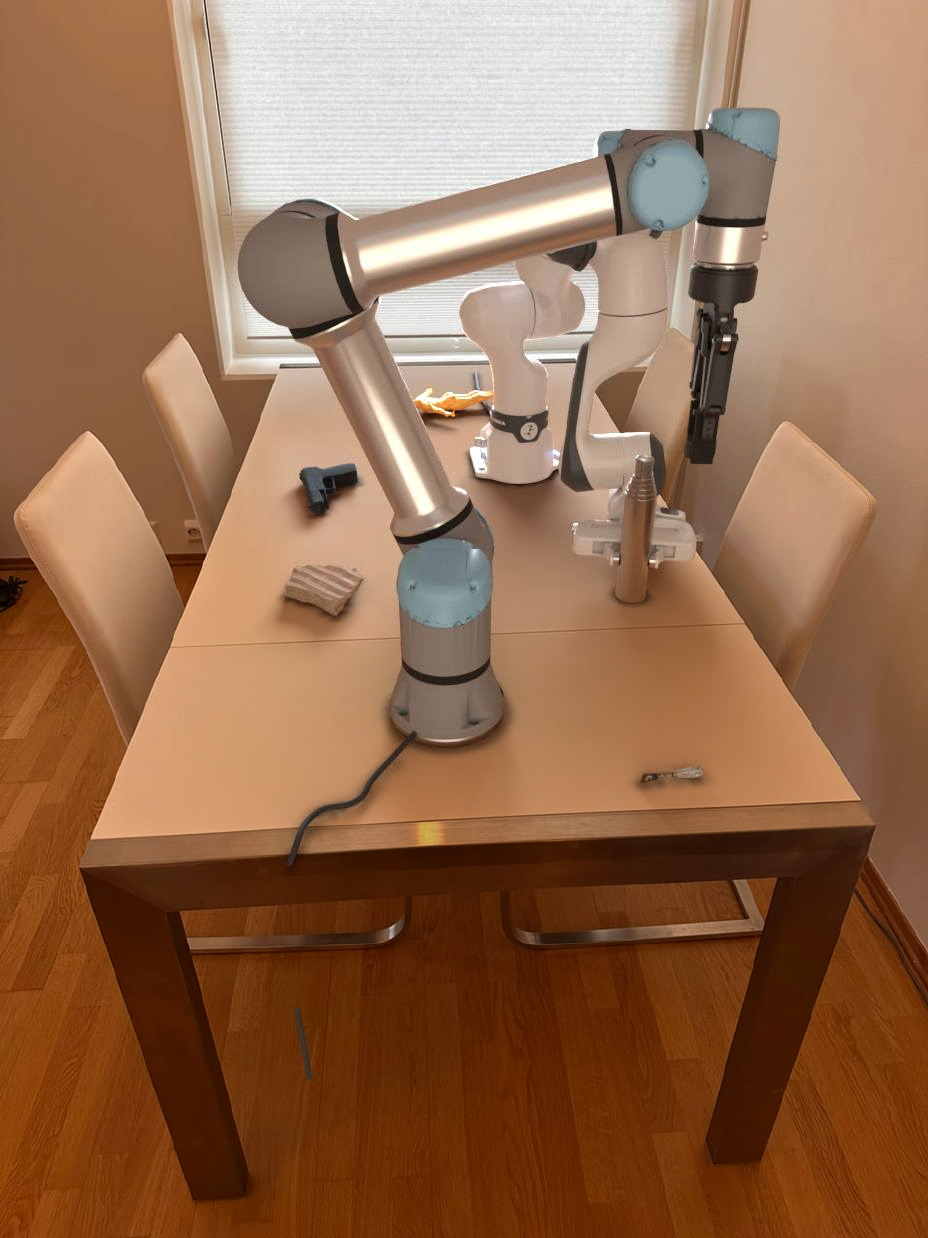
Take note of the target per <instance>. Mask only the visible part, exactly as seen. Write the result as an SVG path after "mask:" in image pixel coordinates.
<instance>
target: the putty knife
mask: <svg viewBox="0 0 928 1238" xmlns="http://www.w3.org/2000/svg"><path fill="white" fill-rule="evenodd" d="M704 772H705V771H704V768H702V767H701V766H697V765H695V766H688V767H683V768H679V769H675V770H673V771H671V772H653V773H652V772H651V773H650V772H649V773H644V774H642V776H641V779H640V783H642V784H645V783H648V782H653V781H659V780H665V779H668V778H673V779H674V778H675V779H693V778H694V779H695V778H700V777H702V776H703V775H704Z"/></svg>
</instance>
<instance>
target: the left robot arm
mask: <svg viewBox="0 0 928 1238" xmlns="http://www.w3.org/2000/svg"><path fill="white" fill-rule="evenodd" d="M780 127H781V117H780V115H779V114H778V112H777V110H775V109H773V108H769V107H717V108H715V109H713V110H712V111H711V112H710V114H709V116H708V122H707V123H706V124H705V128H699V129H692V130H684V129H683V130H681V129H680V130H679V129H677V130H676V129H670V130H669V129H631V128H624V129H620V130H605V131H602V132H601V133H599V134H598V136H597V137H596V139H595V143H594V148H593V157H589V158H585V159H581V160H578V161H574V162H570V163H566V164H562V165H559V166H556V167H551V168H547V169H544V170H539V171H536V172H533V173H529V174H524V175H521V176H517V177H513V178H510V179H505V180H502V181H498V182H493V183H491V184H486V185H483V186H479V187H475V188H471V189H468V190H464V191H459V192H456V193H453V194H448V195H445V196H440V197H437V198H434V199H430V200H426V201H425V200H424V201H422V202H418V203H415V204H409V205H406V206H403V207H398V208H395V209H392V210H387V211H383V212H381V213H377V214H373V215H369V216H365V217H361V218H356V217H354V216H352V215H351V214H349V213H347V212H346V211H345V210H343V209H342V208H341V207H339V206H337V205H335V204H334V203H332V202H329V201H327V200H324V199H318V198H301V199H299V198H298V199H295V200H294V201H291V202H286V203H284V204H283V205H281V206H280V207H278V208H276V209H274V211H272V212H271V213H270V214H269V215H268V216H266V217H264V218H263V219H260V221H258V222H257V223H256V224H255V225H254V226H252V227H251V229H250V230H249V231H248V233H247V234H246V235H245V237H244V239H243V241H242V243H241V245H240V248H239V251H238V257H237V258H238V259H237V275H238V281H239V285H240V287H241V291H242V292H243V294H244V296H245V298H246V300H247V302H248V303H249V304H250V305H251V307H252V309H254V310H255V312H257V313H258V315H260V316H262V317H263V318H264V319H266V320H267V321H268V322H271V323H273V324H275V325H277V326H281V327H285V328H287V329H288V331H289V333H290V335H291V336H292V337H291V338H292V339H293V341H295V342H296V343H298V344H302V345H304V346H306V347H309V348H311V349H312V350H313V352H314V355H315V357H316V359H317V360H318V363H319V365H320V366H321V369H322V370H323V372H324V375H325V376H326V379H327V381H328V383H329V384H330V386H331V388H332V390H333V392H334V395H335V397H336V399H337V401H338V403H339V404H340V405H339V406H341V409H342V410H343V412H344V414H345V417H346V419H347V420H348V422H349V425H350V427H351V428H352V431H353V432H354V434H355V437H356V439H357V441H358V442H359V445H360V447H361V449H362V451H363V452H364V455H365V457H366V459H367V461H368V463H369V466H370V467H371V469H372V471H373V473H374V475H375V477H376V479H377V481H378V483H379V485H380V486H381V489H382V491H383V493H384V495H385V497H386V499H387V501H388V503H389V505H390V507H391V509H392V511H393V513H394V514H393V516H392V518H391V522H390V524H389V530H390V532H391V534H392V536H393V538H394V540H395V542H396V544H397V546H398V548H399V550H400V552H401V554H402V558H401V560H400V562H399V565H398V568H397V576H396V581H395V589H396V594H397V600H398V613H399V615H398V616H399V633H400V634H399V635H400V655H401V667H400V669H399V672H398V675H397V678H396V681H395V684H394V687H393V690H392V693H391V696H390V718H391V721H392V724H393V725H394V727H395V728H396V729H397V731H398V732H399V733H400V734H402V735H403V736H404V737H406V738H405V739H404V740H403V741H402V742H401V743H400V744H399V745H398V747H397V748H396V749H395V750H393V752H392V753H391V754H390V755H389V756H388V757H387V758H386V759H385V760H384V761H383V762H382V764H380V766H379V767H378V768H377V769H376V770H375V771H374V772H373V774H371V775H370V777H369V778H368V780H367V781H366V783H365V785H364V786H363V789H362V791H360V794H358V795H357V796H356V797H355V798H352V799H351V800H348V801H342V802H336V803H329V804H325V805H322V806H319V807H318V808H316V809H315V810H313V811H312V812H311V813H309V814H308V815H307V816H306V817H305V818H304V820H303V821H302V822H301V823H300V825H299V828H298V829H297V832H296V834H295V837H294V840H293V843H292V845H291V850H290V852H289V855H288V858H287V862H286V866H287V867H291V866H293V865H294V864H295V861H296V857H297V854H298V852H299V848H300V845H301V842H302V839H303V836H304V833H305V831H306V829H307V827H308V826H309V825H310V824H311V823H313V821H314V820H315V819H316V818H317V817H319V816H320V815H322V814H323V813H326V812H330V811H337V810H343V809H348V808H351V807H354V806H357V805H358V804H360V803H361V802H362V801H363V800H365V799H366V797H367V795H368V794H369V792H370V790H371V788H372V786H373V784H374V783H375V782H376V781H377V779H379V777H380V776H381V775H382V774H383V772H384V771H385V770H387V768H388V767H389V766H390V765H391V764H392V763H393V762H394V761H395V760H396V759H397V758H398V757H399V755H400V754H401V753H402V752H403V751H404V750H405V749H406V748H407V747H408V746H409V745H410V743H412V741H413V742H415V743H417V744H420V745H421V744H422V745H425V746H430V747H437V748H454V747H455V748H457V747H463V746H467V745H471V744H473V743H476V742H480V741H481V740H483V739H485V738H486V737H488V736H489V735H491V734H492V733H493V732H494V731H495V730H496V729H498V727H499V726H500V724H501V722H502V720H503V717H504V698H505V694H504V690H503V688H502V687H501V684H500V683H499V681H498V679H497V677H496V674H495V672H494V668H493V666H492V664H491V654H492V653H491V651H492V649H491V648H492V647H491V645H492V595H493V589H494V577H493V563H494V555H495V545H494V544H495V539H494V535H493V531H492V528H491V527H490V524H489V521H488V520H487V519H486V517H485V516H484V514H483V513H482V512H481V511H480V510H479V509H478V508H477V507H475V506H474V504H473V502H472V499H471V497H470V494H469V493H468V492H467V490H466V489H464V488H461V487H458V486H454V485H452V482H451V480H450V478H449V476H448V474H447V471H446V469H445V467H444V465H443V463H442V461H441V458H440V456H439V453H438V451H437V450H436V447H435V445H434V443H433V440H432V438H431V436H430V434H429V432H428V429H427V427H426V425H425V423H424V421H423V419H422V416H421V414H420V412H419V409H418V407H416V405H415V403H414V398H413V396H412V394H411V392H410V390H409V387H408V386H407V385H408V384H407V383H406V381H405V379H404V376H403V374H402V373H401V369H400V367H399V365H398V364H397V361H396V358H395V357H394V355H393V353H392V350H391V348H390V346H389V344H388V341H387V340H386V337H385V334H384V333H383V330H382V328H381V326H380V324H379V321H378V319H377V315H378V311H379V308H380V304H381V302H382V298H381V297H382V296H385V295H388V294H393V293H397V292H401V291H405V290H409V289H412V288H417V287H420V286H425V285H428V284H432V283H436V282H440V281H444V280H448V279H452V278H456V277H460V276H465V275H468V274H472V273H475V272H480V271H483V270H487V269H491V268H496V267H499V266H503V265H507V264H511V263H514V262H515V261H519V260H523V259H527V258H531V257H535V256H539V255H543V254H547V253H551V252H555V251H559V250H563V249H567V248H571V247H575V246H578V245H582V244H586V243H590V242H594V241H598V240H602V239H606V238H610V237H614V236H619V235H624V234H629V233H633V232H637V231H641V230H645V229H651V230H658V231H663V232H671V231H675V230H679V229H681V228H683V227H685V226H687V225H688V224H690V223H691V222H692V221H694V219H696V221H695V227H694V236H693V244H692V253H691V257H692V259H693V260H694V261H695V262H694V263H693V264H692V265H691V266H690V272H689V273H690V274H689V281H688V287H687V288H688V289H687V294H688V297H689V298H690V299H691V300H693V301H696V302H698V303H703V307H702V308H700V307H699V308H697V311H696V326H695V327H696V329H695V337H694V345H693V353H692V363H691V371H690V372H691V373H690V380H689V382H688V388H689V389H690V397H691V399H690V405H689V413H688V421H687V429H686V437H687V436H688V435H691V434H693V441H692V449H691V456H690V459H689V464H690V465H713V463H714V458H715V456H714V450H715V443H717V442H716V439H717V437H718V429H719V423H720V418H721V417H720V416H724V415H725V413H726V406H727V402H728V394H729V388H730V382H731V376H732V370H733V364H734V359H735V358H734V357H735V352H736V350H737V346H738V343H739V339H740V337H739V334H738V333H737V329H738V318H737V317H735V307H736V306H737V305H739V304H746V303H749V302H751V301H752V300H753V299H754V297H755V295H756V287H757V282H758V276H759V275H758V274H759V268H758V267H757V265H756V263H757V262H759V261H760V258H761V253H762V247H763V245H762V242H765V241H767V240H769V232H768V231H766V230H765V228H766V222H767V213H768V209H769V203H770V196H771V191H772V186H773V180H774V174H775V168H776V164H777V161H778V149H779V139H780V130H781V129H780ZM686 437H685V438H686ZM713 457H714V458H713ZM293 1013H294V1014H293V1015H294V1019H295V1022H296V1028H297V1034H298V1038H299V1043H300V1048H301V1053H302V1060H303V1065H304V1072H305V1079H306V1080H307V1081H310V1080H312V1079H313V1076H312V1069H311V1061H310V1054H309V1050H308V1048H309V1047H308V1043H307V1038H306V1034H305V1028H304V1023H303V1018H302V1013H301V1008H300V1007H297V1008H294V1009H293Z"/></svg>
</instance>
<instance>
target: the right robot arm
mask: <svg viewBox="0 0 928 1238" xmlns="http://www.w3.org/2000/svg"><path fill="white" fill-rule="evenodd" d="M663 232H664V231H658V230H651V229H645V230H641V231H637V232H633V233H629V234H624V235H619V236H614V237H610V238H606V239H602V240H598V241H594V242H590V243H586V244H582V245H578V246H575V247H571V248H567V249H563V250H559V251H555V252H551V253H547V254H543V255H539V256H535V257H531V258H527V259H523V260H519V261H515V262H513V263H514V264H513V265H514V270H515V273H516V275H517V276H518V278H519V280H520V281H511V282H510V281H509V282H500V283H489V284H486V285H483V286H480V287H477V288H474V289H471V290H468V291H467V292H466V293H465V295H464V296H463V298H462V300H461V302H460V306H459V310H458V318H459V319H458V320H459V324H460V327H461V330H462V332H463V333H464V335H465V336H466V337H467V338H468V340H470V341H471V342H472V343H474V344H475V345H476V346H477V347H479V348H480V349H481V350H482V352H483V353H484V355H485V357H486V359H487V361H488V363H489V365H490V366H489V367H490V369H491V374H492V375H491V376H492V391H493V398H492V402H493V403H491V404H492V406H491V408H490V406H489V405H488V404H487V402H486V400H485V401H482V402H481V403H482V405H483V407H484V408H485V410H486V411H487V413H488V414H489V422H488V423H487V424H486V425H485V426H483V427H482V428H481V430H480V431H479V436H478V437H477V436H476V437H474V446H473V447H470V449H469V456H470V460H471V464H472V467H473V471H474V475H475V477H477V478H480V479H489V480H492V481H493V480H494V481H497V482H500V483H506V484H518V485H523V484H524V485H525V484H532V483H539V482H542V481H544V480H545V479H547V478H549V477H550V476H551V475H552V473H553V472H554V471H556V470H558V474H559V477H560V481H561V482H562V483H563V484H564V486H566V487H568V488H569V489H570V490H572V491H573V492H575V493H583V492H592V491H595V490H609V492H608V498H607V517H606V519H595V518H594V519H593V518H585V519H582V520H580V521H579V522H575V523H573V524H572V526H571V532H572V534H573V536H572V552H573V553H574V554H575V555H577V556H588V557H602V558H604V559H605V560H606V561H608V562H609V566H611V567H612V566H613V567H614V566H615V567H618V566H619V551H620V541H621V531H622V521H623V511H624V501H625V492H626V489H627V487H628V485H629V482H630V481H631V478H632V477H633V474H634V473H635V465H636V457H637V456H639V455H649V456H652V457H653V458H654V463H653V471H652V475H653V476H654V478H653V479H654V480H655V485H656V489H657V498H658V497H659V496H660V495H661V493H662V492H663V490H664V488H665V486H666V481H667V480H666V479H667V469H666V459H665V452H664V451H665V450H664V445H663V444H662V442H661V441H660V439H659V438H658V437H657V436H656V435H655V434H654V433H652V432H650V431H641V432H640V431H635V432H623V433H601V434H599V433H598V434H595V433H592V432H590V431H589V429H590V421H591V416H592V410H593V409H592V408H593V402H594V397H595V393H596V391H597V390H598V388H599V386H601V384H603V383H604V382H605V381H607V380H608V379H610V378H612V377H614V376H615V375H618V374H620V373H622V372H625V371H627V370H629V369H632V368H634V367H636V366H638V365H640V364H642V363H643V362H645V361H647V360H648V359H649V358H651V357H652V356H653V355H654V354H655V353H656V352H657V351H658V350H659V349H660V347H661V345H662V344H663V341H664V340H665V337H666V330H667V324H668V310H669V309H668V308H669V303H668V302H669V295H668V294H669V293H668V277H667V267H666V262H665V260H666V259H665V256H664V255H665V254H664V251H663V250H664V249H663V247H662V246H661V244H660V241H658V239H659V238H660V237H661V236H662V234H663ZM588 265H589V266H590V268H591V269H593V272H595V275H596V277H597V285H598V293H597V294H598V295H597V297H598V298H597V305H598V306H597V321H596V326H595V329H594V331H593V333H592V335H591V337H590V339H589V340H587V341H585V342H584V343H582V344H581V346H580V348H579V350H578V353H577V357H576V360H575V361H576V362H575V368H574V374H573V377H572V381H571V382H572V383H571V391H570V396H569V403H568V404H569V405H568V411H567V418H566V428H565V435H564V439H563V441H562V445H561V447H560V450H559V452H558V451H557V450H555V442H554V441H555V439H554V436H555V435H554V432H553V430H552V429H551V428H550V427H549V419H550V413H549V406H548V387H549V374H548V370H547V369H546V367H545V365H544V364H543V363H542V362H541V361H540V360H538V359H536V358H534V357H532V356H531V355H528V354H526V352H525V342H526V341H531V340H541V339H548V338H556V337H559V336H562V335H565V334H567V333H570V332H574V331H575V330H577V329H578V328H579V326H580V325H581V324H582V321H583V320H584V316H585V314H586V300H585V296H584V293H583V291H582V289H581V288H580V286H579V285H578V284H577V283H576V282H575V281H573V280H572V278H573V275H574V273H575V272H579V273H580V272H582V271H584V270H585V269H586V267H587V266H588ZM473 374H474V382H475V388H476V391H480V392H482V391H481V387H480V382H479V376H478V371H477V370H474V372H473ZM555 456H557V457H558V460H557V459H555ZM686 515H687V514H686V513H685V512H684V511H682V510H678V509H674V508H669V507H666V506H665V507H664V506H662V505H660V504H658V500H657V501H656V510H655V518H654V526H653V535H652V543H651V551H650V559H649V568H648V569H659V564H661V563H663V562H664V561H669V562H684V563H689V562H692V561H694V559H695V558H696V553H697V552H696V551H697V541H698V540H697V536H696V534H695V531H694V529H693V527H692V525H691V524H690V523H689V522H688V521H687V520H686V519H687V518H686V517H687V516H686Z"/></svg>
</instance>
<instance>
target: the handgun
mask: <svg viewBox="0 0 928 1238" xmlns="http://www.w3.org/2000/svg"><path fill="white" fill-rule="evenodd" d="M298 475H299V480H300V481H301V482H302V485H303V488H304V493H305V495H306V499H307V500H308V505H306V508H308V509H310V510H311V512H312V514H314V515H322V514H324V513H325V508H326V509H327V511H328V510H329V509H330V507H329V506H330V505H329V498H328V496H332V495H335V494H336V492H337V491H336V488H340V487H345V486H349V485H353V484H358V482H359V477H358V471H357V465H356V463H353V462H352V463H351V462H347V463H342V464H338V465H333V466H330V467H326V468H320V467H318V466H308V467H303V468H302V469H301V470H300V472H298Z"/></svg>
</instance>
